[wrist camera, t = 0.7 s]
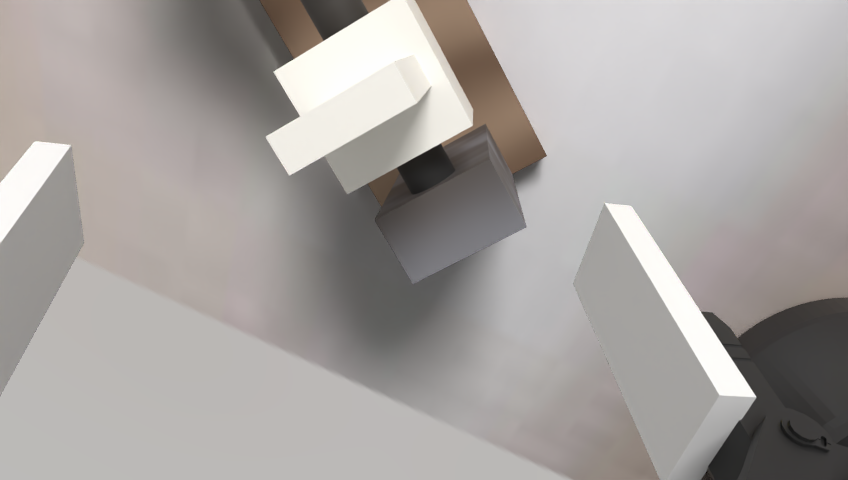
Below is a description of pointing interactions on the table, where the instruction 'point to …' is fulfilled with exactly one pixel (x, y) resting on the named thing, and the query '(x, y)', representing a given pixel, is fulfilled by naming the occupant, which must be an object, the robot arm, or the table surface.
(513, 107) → the cord rack
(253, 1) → the table surface
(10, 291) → the robot arm
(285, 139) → the sleeve
